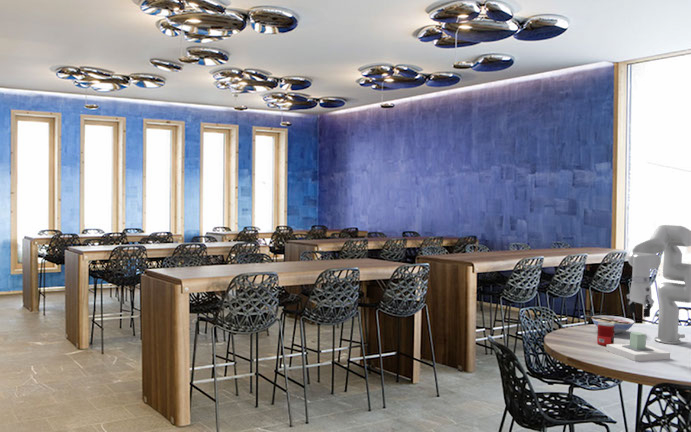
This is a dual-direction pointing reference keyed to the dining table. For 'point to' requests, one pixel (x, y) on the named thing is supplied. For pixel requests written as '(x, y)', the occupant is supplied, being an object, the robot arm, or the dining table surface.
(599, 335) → the canned food
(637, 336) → the green block
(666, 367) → the dining table surface
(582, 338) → the dining table surface
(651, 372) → the dining table surface
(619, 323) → the ramen bowl
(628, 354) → the base board
